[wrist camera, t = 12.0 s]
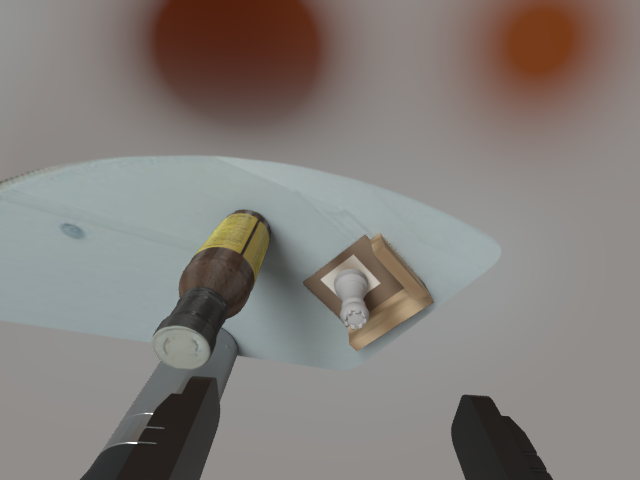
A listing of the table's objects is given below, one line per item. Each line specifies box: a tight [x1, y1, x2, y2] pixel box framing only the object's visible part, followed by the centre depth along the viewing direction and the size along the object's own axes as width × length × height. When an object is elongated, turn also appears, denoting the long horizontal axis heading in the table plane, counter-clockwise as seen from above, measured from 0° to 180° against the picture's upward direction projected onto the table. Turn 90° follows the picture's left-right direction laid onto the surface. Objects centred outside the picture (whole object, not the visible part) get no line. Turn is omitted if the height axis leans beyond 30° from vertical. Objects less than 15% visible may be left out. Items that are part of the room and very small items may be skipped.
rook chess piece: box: [334, 269, 369, 330], centre depth 37 cm, size 4×4×8 cm
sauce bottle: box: [151, 210, 271, 370], centre depth 29 cm, size 6×6×20 cm
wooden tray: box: [303, 233, 434, 351], centre depth 39 cm, size 12×11×4 cm
